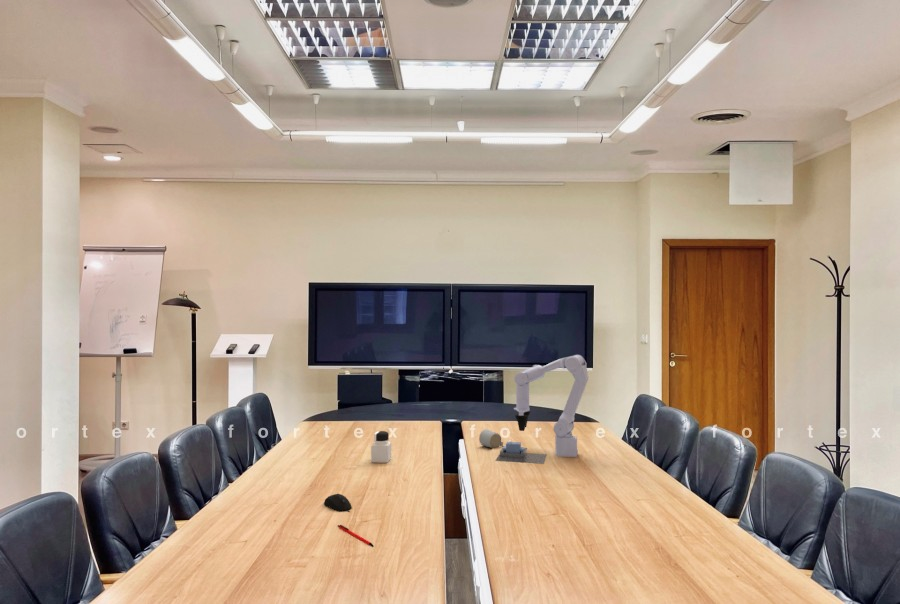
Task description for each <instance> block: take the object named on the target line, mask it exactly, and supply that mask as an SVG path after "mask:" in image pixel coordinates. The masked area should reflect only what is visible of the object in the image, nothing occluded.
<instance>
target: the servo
mask: <svg viewBox="0 0 900 604" xmlns="http://www.w3.org/2000/svg"><path fill="white" fill-rule="evenodd" d="M502 447H503V450H506V453H520V454H521V451H524V448H525V446H522V442H520V441H519V442H516V441H512V440H508V441H506V443H505V445H504V446H502Z"/></svg>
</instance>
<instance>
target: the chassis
mask: <svg viewBox="0 0 900 604" xmlns="http://www.w3.org/2000/svg"><path fill="white" fill-rule="evenodd" d="M503 447H504V446H502V447H501V449H500V450H499V455H498V456H497V457H496V459H495V461H496V462H506V463H507V462H508V463H524V464H535V465H536V464H539V465H544V464H545V462H546V459H547V456H548V454H547V453H533V452H528V448H527V447H524V451H521V454H520V453H506V450H503Z"/></svg>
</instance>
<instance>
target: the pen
mask: <svg viewBox="0 0 900 604" xmlns="http://www.w3.org/2000/svg"><path fill="white" fill-rule="evenodd" d="M337 527H338V528H339V529H340V530H342V531H344V532H346V533H347V534H348V535H351V536H353V537H354V538H356V539H358V540H359V541H361V542H362V543H365V544H366V545H368V546H370V547H374V546H375V545H374V544H373V543H372V542H371V541H369V540H367V539H365V538H364V537H362V536H360V535H358V534H357V533H355V532H353V531H351V530H350V529H349V528H347V527H346V526H345V525H343V524H340V525H339V524H338V525H337Z"/></svg>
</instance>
